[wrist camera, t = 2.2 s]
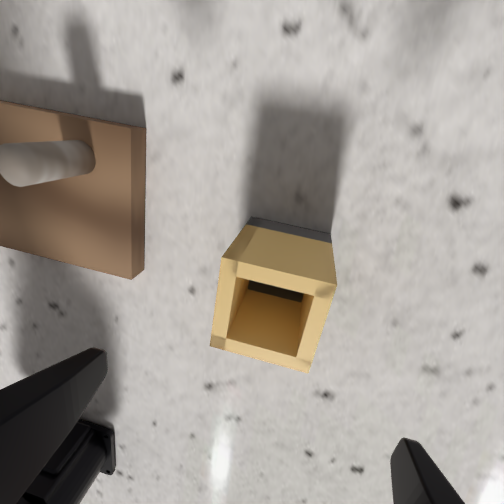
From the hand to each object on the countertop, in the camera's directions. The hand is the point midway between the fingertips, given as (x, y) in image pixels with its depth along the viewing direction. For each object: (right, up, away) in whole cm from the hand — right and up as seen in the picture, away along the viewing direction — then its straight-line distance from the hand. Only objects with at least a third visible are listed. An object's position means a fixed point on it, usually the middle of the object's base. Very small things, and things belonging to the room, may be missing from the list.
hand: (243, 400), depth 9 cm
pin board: (-15, +9, +11) cm, 20 cm away
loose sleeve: (+2, +4, +9) cm, 10 cm away
